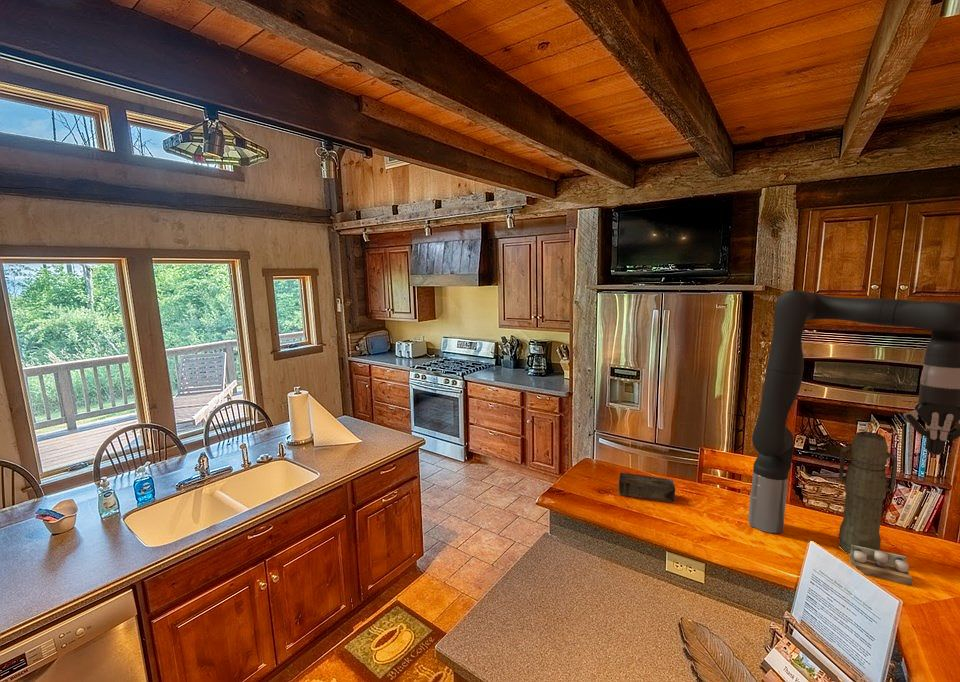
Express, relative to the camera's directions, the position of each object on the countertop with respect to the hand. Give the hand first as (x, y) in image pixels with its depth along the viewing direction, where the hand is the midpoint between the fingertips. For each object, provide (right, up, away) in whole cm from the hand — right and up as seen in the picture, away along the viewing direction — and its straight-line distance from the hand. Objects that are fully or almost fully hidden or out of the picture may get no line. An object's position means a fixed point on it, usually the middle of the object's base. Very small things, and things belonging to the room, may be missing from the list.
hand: (933, 453), depth 106 cm
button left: (-9, -34, +11) cm, 36 cm away
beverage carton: (-51, -30, +53) cm, 79 cm away
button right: (-2, -34, +7) cm, 35 cm away
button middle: (-5, -33, +9) cm, 34 cm away
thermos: (-2, -34, +19) cm, 38 cm away
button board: (-5, -34, +9) cm, 36 cm away
